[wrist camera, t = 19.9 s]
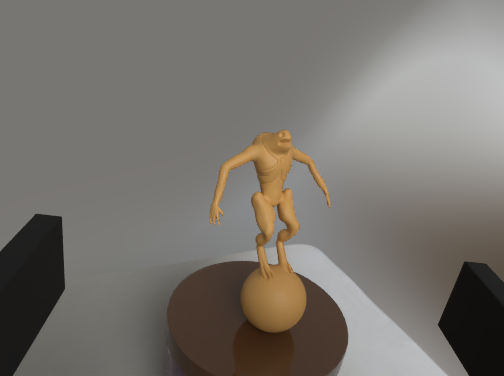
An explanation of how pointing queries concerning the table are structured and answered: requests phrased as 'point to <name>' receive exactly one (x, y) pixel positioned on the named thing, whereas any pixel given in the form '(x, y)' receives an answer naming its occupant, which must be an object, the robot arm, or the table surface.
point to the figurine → (271, 231)
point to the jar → (248, 330)
